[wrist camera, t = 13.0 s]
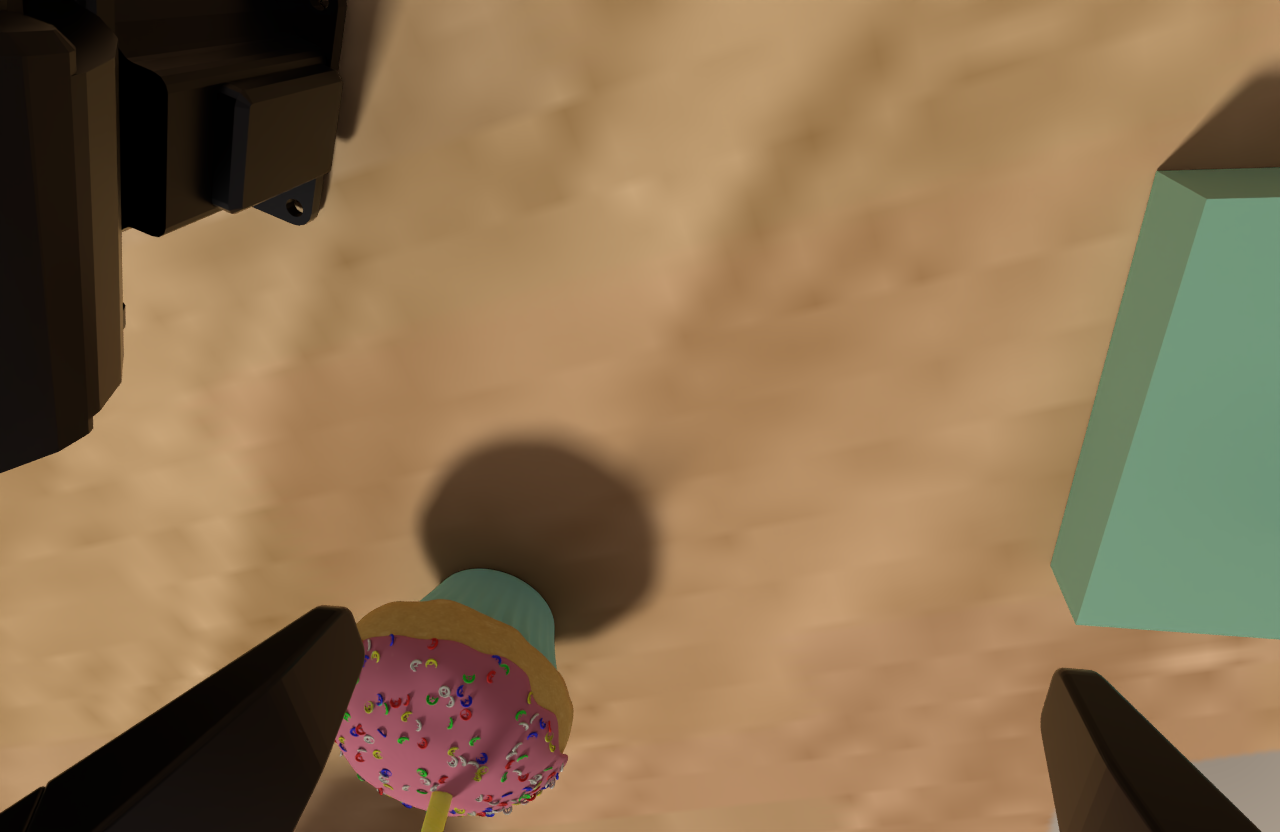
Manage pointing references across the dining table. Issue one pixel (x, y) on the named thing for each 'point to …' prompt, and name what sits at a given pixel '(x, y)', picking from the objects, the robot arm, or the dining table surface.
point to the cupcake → (459, 699)
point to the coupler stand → (1186, 423)
